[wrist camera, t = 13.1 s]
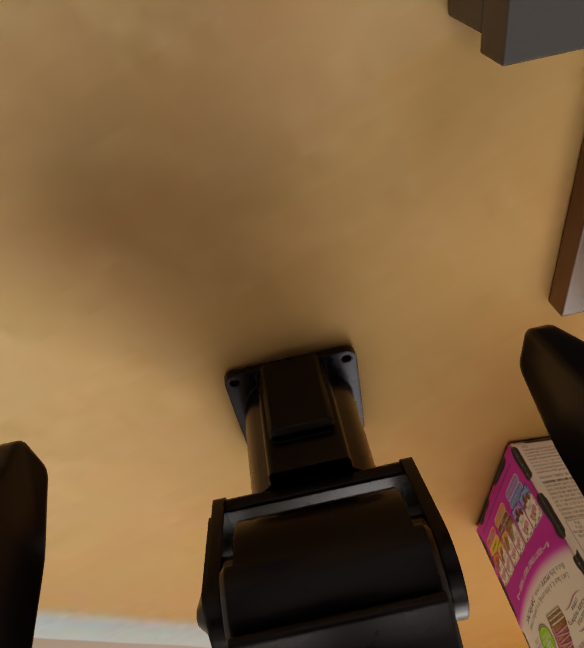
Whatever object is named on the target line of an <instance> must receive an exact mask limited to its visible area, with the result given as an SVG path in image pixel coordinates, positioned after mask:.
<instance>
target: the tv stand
mask: <svg viewBox="0 0 584 648" xmlns="http://www.w3.org/2000/svg"><path fill="white" fill-rule="evenodd" d="M449 15H450V16H451V17H453V18H455V19H457V20H459V21H460V22H462V23H464V24H466V25H468V26H469V27H471V28H473V29H475V30H477V31H479V32H480V33H482V35H481V49H480V51H481V53H482V54H484V55H486V56H487V57H489V58H490V59H492V60H494V61H495V62H497V63H499V64H500V65H502V66H506V65H511V64H515V63H520V62H525V61H529V60H534V59H538V58H543V57H547V56H552V55H557V54H561V53H566V52H570V51H575V50H579V49H584V0H450V1H449Z"/></svg>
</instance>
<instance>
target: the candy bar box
mask: <svg viewBox="0 0 584 648" xmlns="http://www.w3.org/2000/svg"><path fill="white" fill-rule="evenodd" d="M477 533H478V535H479V537H480V539H481V541H482V543H483V546H484V548H485V550H486V552H487V555H488V557H489V559H490V561H491V563H492V566H493V568H494V570H495V573H496V575H497V577H498V579H499V581H500V583H501V585H502V588H503V590H504V592H505V594H506V596H507V599H508V601H509V603H510V605H511V608H512V610H513V612H514V614H515V616H516V618H517V621H518V624H519V626H520V628H521V630H522V632H523V634H524V637H525V639H526V641H527V643H528V645H529V648H584V497H583V495H582V493H581V492H580V490H579V488H578V486H577V485H576V483H575V481H574V480H573V478H572V476H571V475H570V473H569V471H568V469H567V468H566V466H565V464H564V463H563V461H562V459H561V457H560V456H559V454H558V452H557V450H556V448H555V446H554V444H553V442H552V440H551V438H550V437H548V438H542V439H536V440H530V441H522V442H517V443H511V444H509V445H508V446H507V449H506V452H505V454H504V457H503V460H502V462H501V465H500V468H499V471H498V473H497V476H496V479H495V481H494V484H493V487H492V490H491V493H490V495H489V498H488V501H487V504H486V507H485V509H484V512H483V514H482V517H481V520H480V522H479V525H478V528H477Z"/></svg>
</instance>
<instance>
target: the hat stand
mask: <svg viewBox="0 0 584 648" xmlns="http://www.w3.org/2000/svg"><path fill="white" fill-rule="evenodd" d="M549 302H550V303H551V305H552V306H553V307H554V308H555V309H556V311H557V312H558V313H559V314H560V315H561V316H567V315H571V314H576V313H581V312H584V141H583V145H582V150H581V155H580V159H579V164H578V169H577V173H576V178H575V183H574V187H573V192H572V197H571V201H570V206H569V211H568V215H567V220H566V225H565V229H564V234H563V239H562V243H561V248H560V253H559V257H558V262H557V267H556V271H555V276H554V281H553V285H552V290H551V295H550V299H549Z"/></svg>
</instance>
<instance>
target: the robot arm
mask: <svg viewBox="0 0 584 648" xmlns="http://www.w3.org/2000/svg"><path fill="white" fill-rule="evenodd" d="M345 355H348V356H346V357H343V356H345ZM520 368H521V372H522V375H523V377H524V379H525V382H526V384H527V386H528V388H529V391H530V393H531V395H532V397H533V400H534V402H535V404H536V406H537V409H538V411H539V413H540V415H541V418H542V420H543V422H544V425H545V427H546V429H547V431H548V434H549V436H550V438H551V440H552V442H553V444H554V446H555V448H556V450H557V452H558V454H559V456H560V457H561V459H562V461H563V463H564V464H565V466H566V468H567V469H568V471H569V473H570V475H571V476H572V478H573V480H574V481H575V483H576V485H577V486H578V488H579V490H580V492H581V493H582V495H583V497H584V341H582V340H580V339H578V338H576V337H574V336H572V335H571V334H569V333H567V332H565V331H563V330H561V329H559V328H557V327H555V326H553V325H544V326H539V327H534V328H530V329H528V330H527V331H526V333H525V336H524V341H523V346H522V352H521V357H520ZM224 378H225V387H226V389H227V392H228V395H229V397H230V400H231V403H232V405H233V408H234V411H235V414H236V416H237V419H238V422H239V424H240V427H241V430H242V432H243V435H244V438H245V440H246V443H247V447H248V457H249V468H250V478H251V489H252V494H250V495H245V496H240V497H236V498H231V499H226V498H221V499H217V500H213V505H212V515H211V518H209V522H208V532H207V542H206V553H205V563H204V573H203V583H202V593H201V597H200V600H199V604H198V608H197V622H198V626H199V627H200V628H201V629H202V630H203V631H205V632H206V633H207V634H208V635H209V639H210V642H211V646H212V648H463V644H462V640H461V636H460V632H459V628H458V624H457V621H461V620H465V619H468V617H469V601H468V595H467V590H466V585H465V581H464V577H463V573H462V570H461V566H460V563H459V560H458V557H457V554H456V551H455V548H454V545H453V542H452V540H451V537H450V535H449V532H448V530H447V528H446V526H445V523H444V521H443V519H442V517H441V515H440V513H439V511H438V509H437V507H436V505H435V503H434V501H433V499H432V497H431V495H430V493H429V491H428V489H427V487H426V485H425V483H424V481H423V479H422V477H421V475H420V473H419V471H418V469H417V467H416V465H415V463H414V461H413V459H412V457H409V458H404V459H400V460H399V462H396V463H391V464H387V465H382V466H378V467H375V464H374V460H373V457H372V454H371V451H370V447H369V444H368V441H367V438H366V434H365V431H364V418H363V409H362V400H361V392H360V383H359V374H358V365H357V356H356V354H355V351H354V348H352V347H351V346H341V347H336V348H331V349H327V350H322V351H318V352H313V353H309V354H304V355H300V356H295V357H290V358H286V359H281V360H277V361H272V362H268V363H263V364H258V365H254V366H249V367H245V368H240V369H236V370H231V371H229V372H227V373H226V374H225V376H224ZM235 379H237V380H236V381H232V380H235ZM47 491H48V474H47V470H46V467H45V465H44V464H43V463H42V462H41V460H40V459H39V458H38V457H37V456H36V455H35V453H34V452H33V451H32V450H31V449H30V447H29V446H28V445H27V444H26V443H25V442H22V441H15V442H10V443H6V444H1V445H0V648H32V644H33V637H34V630H35V623H36V617H37V610H38V603H39V596H40V590H41V583H42V576H43V569H44V561H45V547H46V519H47Z"/></svg>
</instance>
